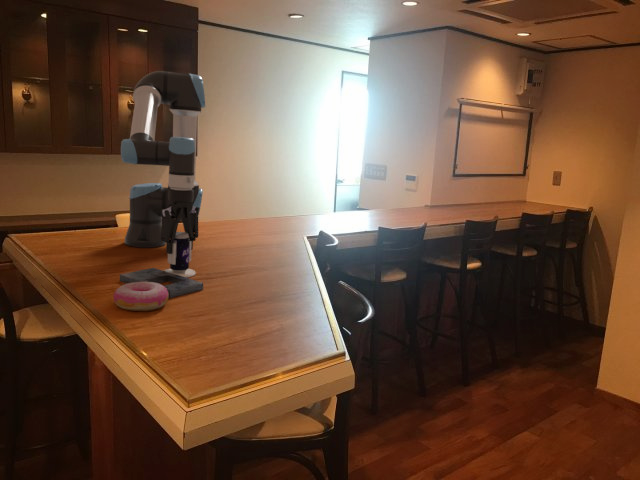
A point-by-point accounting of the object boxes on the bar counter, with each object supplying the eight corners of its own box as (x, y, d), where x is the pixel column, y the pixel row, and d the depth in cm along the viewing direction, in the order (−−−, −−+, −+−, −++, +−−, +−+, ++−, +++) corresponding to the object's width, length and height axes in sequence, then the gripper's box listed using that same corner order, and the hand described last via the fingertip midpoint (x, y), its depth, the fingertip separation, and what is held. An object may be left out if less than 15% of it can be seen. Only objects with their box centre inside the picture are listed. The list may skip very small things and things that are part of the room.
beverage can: (183, 273, 162) (184, 235, 159) (166, 271, 163) (167, 233, 161) (191, 269, 167) (192, 232, 165) (175, 267, 168) (176, 230, 166)
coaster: (155, 273, 164) (155, 271, 164) (180, 268, 172) (180, 266, 172) (177, 280, 158) (177, 278, 158) (202, 274, 167) (202, 272, 167)
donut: (126, 295, 142) (126, 277, 141) (175, 299, 142) (175, 281, 141) (104, 311, 129) (104, 292, 128) (158, 315, 128) (159, 296, 127)
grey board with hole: (119, 281, 153) (119, 274, 153) (153, 273, 163) (153, 267, 163) (170, 298, 141) (170, 291, 141) (203, 289, 151) (203, 282, 151)
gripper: (164, 191, 150) (163, 269, 155) (212, 188, 166) (209, 259, 170) (148, 188, 154) (147, 264, 159) (195, 186, 170) (193, 255, 174)
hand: (179, 261), depth 165 cm, fingers closed on beverage can, 6 cm apart
